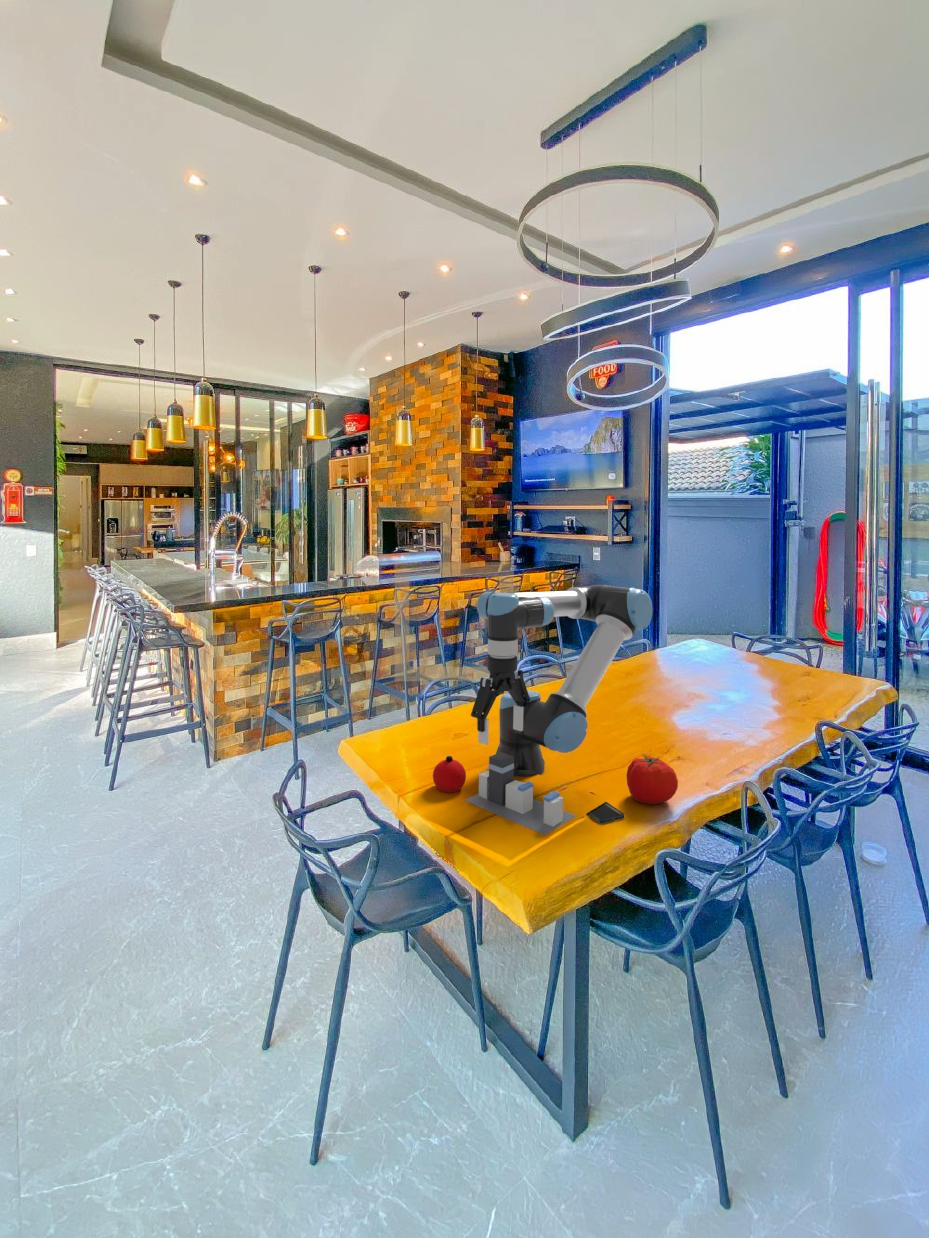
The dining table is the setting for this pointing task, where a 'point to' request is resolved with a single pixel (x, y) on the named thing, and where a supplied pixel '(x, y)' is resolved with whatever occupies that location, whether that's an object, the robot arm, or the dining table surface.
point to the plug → (500, 776)
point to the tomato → (651, 780)
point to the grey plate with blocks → (524, 806)
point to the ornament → (449, 775)
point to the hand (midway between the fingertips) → (501, 736)
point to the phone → (605, 813)
